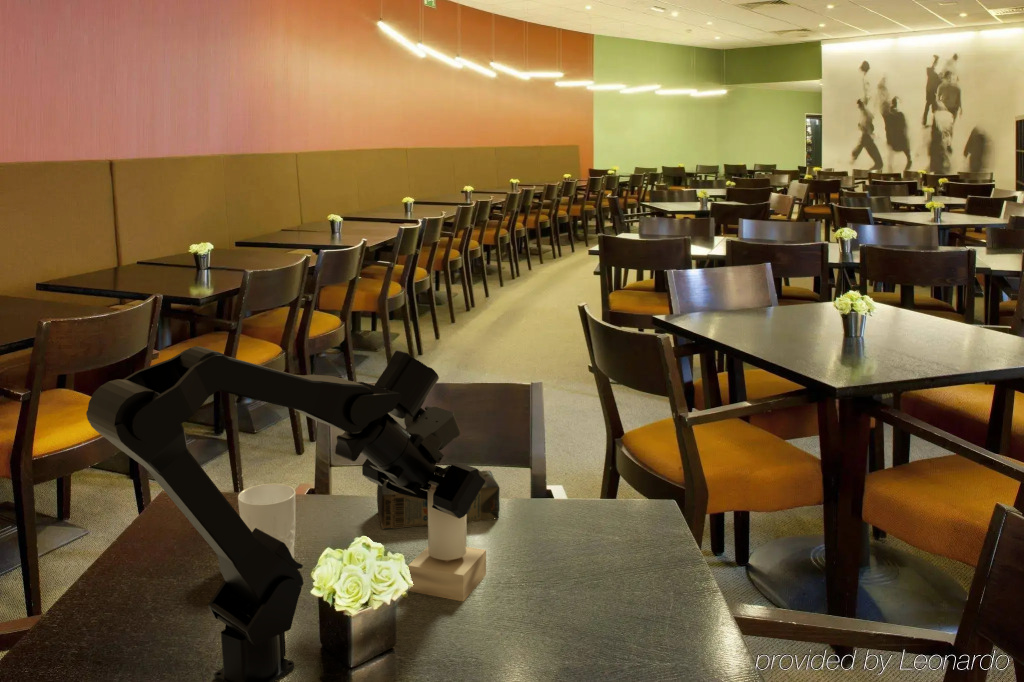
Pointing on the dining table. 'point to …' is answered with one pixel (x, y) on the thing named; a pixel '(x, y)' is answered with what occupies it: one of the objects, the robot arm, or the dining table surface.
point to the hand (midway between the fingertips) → (454, 505)
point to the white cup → (270, 511)
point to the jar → (445, 533)
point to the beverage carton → (415, 510)
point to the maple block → (448, 574)
